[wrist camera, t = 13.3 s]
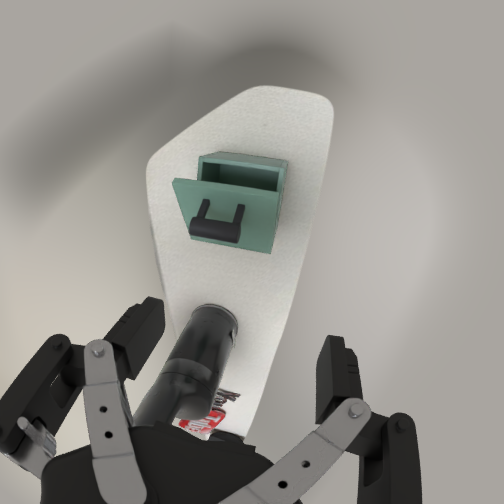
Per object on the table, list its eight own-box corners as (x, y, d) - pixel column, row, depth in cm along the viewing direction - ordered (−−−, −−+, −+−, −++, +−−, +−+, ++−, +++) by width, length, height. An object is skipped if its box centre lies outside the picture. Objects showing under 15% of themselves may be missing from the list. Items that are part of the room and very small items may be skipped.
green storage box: (218, 151, 38) (198, 156, 31) (288, 161, 37) (285, 168, 30) (212, 215, 43) (193, 235, 35) (277, 227, 42) (271, 249, 34)
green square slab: (174, 177, 25) (155, 217, 23) (279, 192, 24) (270, 236, 22) (193, 234, 35) (181, 267, 33) (271, 248, 34) (264, 284, 32)
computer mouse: (245, 447, 67) (248, 437, 71) (210, 435, 68) (214, 425, 72) (239, 454, 69) (242, 445, 73) (206, 443, 70) (210, 434, 74)
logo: (208, 391, 57) (246, 400, 60) (208, 385, 58) (245, 395, 61) (176, 429, 66) (207, 436, 69) (176, 424, 67) (207, 431, 70)
